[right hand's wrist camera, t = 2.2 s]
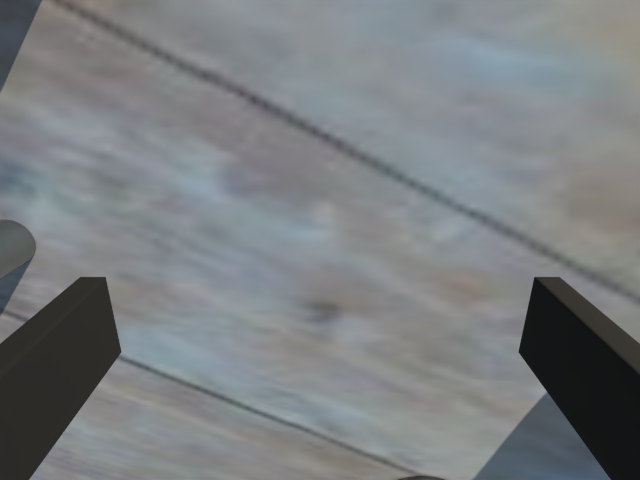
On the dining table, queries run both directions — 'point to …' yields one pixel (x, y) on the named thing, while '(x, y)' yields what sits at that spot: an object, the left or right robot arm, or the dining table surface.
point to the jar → (14, 246)
